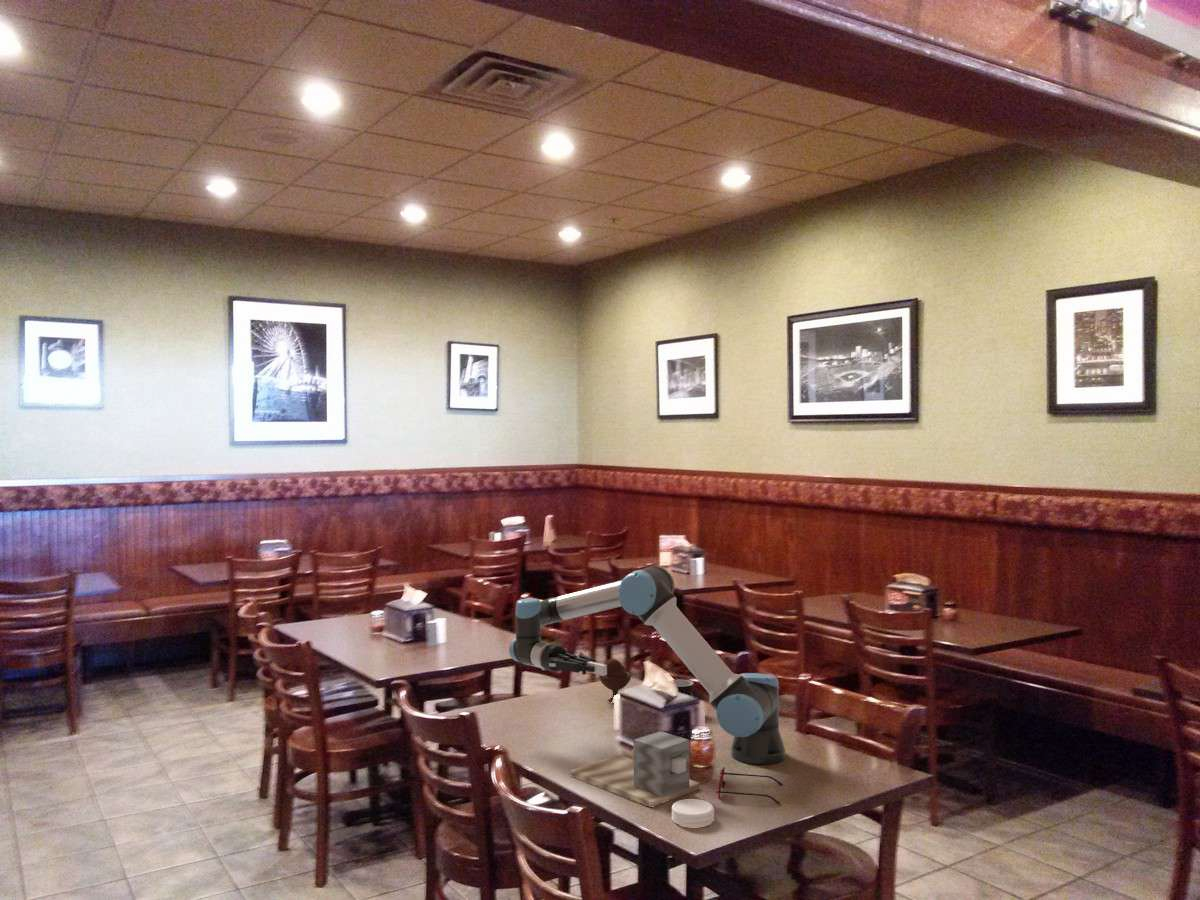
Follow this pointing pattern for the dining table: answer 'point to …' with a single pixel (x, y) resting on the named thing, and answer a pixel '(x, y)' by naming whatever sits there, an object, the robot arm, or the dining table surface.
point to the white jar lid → (692, 812)
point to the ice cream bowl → (615, 676)
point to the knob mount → (644, 770)
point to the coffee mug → (685, 686)
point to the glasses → (741, 793)
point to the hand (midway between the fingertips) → (604, 670)
